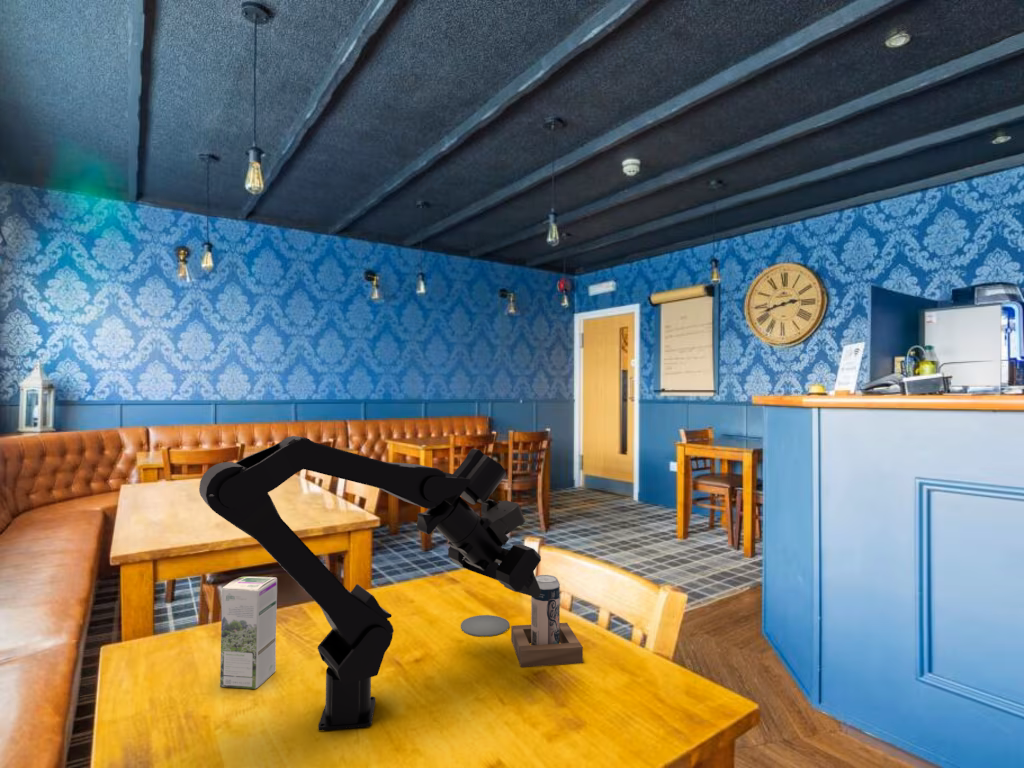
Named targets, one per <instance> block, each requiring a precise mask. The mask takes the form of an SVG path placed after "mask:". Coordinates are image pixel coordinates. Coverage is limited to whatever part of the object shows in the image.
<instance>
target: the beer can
mask: <svg viewBox="0 0 1024 768" xmlns="http://www.w3.org/2000/svg"><path fill="white" fill-rule="evenodd" d="M535 578H536V580H537V583H538V585H539V587H540V590H541V594H540V596H539V597H538V598H536V597H533V596H530V597H531V598H530V599H531V600H530V602H531V603H530V604H531V606H530V607H531V611H530V612H531V613H530V616H531V617H530V618H531V619H530V620H531V621H530V622H531V624H530V625H531V643H530V645H545V644H561V643H560V623H561V621H560V620H561V619H560V610H561V609H560V606H561V605H560V603H561V602H560V601H561V600H560V599H561V598H560V597H561V595H560V593H561V591H560V590H561V587H560V586H561V583H560V581H559V580H558V577H556V576H554V575H550V574H539V575H536V576H535Z"/></svg>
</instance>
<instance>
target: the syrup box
mask: <svg viewBox="0 0 1024 768" xmlns="http://www.w3.org/2000/svg"><path fill="white" fill-rule="evenodd" d="M277 603H278V578H277V577H273V576H269V577H268V576H245V575H244V576H241V577H238V578H236V579H233V580H232V581H230V582H229V583H227V584H225V585H224V586H223V587H222V589H221V620H220V621H221V623H220V624H221V626H220V631H221V632H220V633H221V634H220V673H219V674H220V675H219V677H220V678H219V681H220V683H219V687H221V688H233V689H235V688H237V689H251V690H254V689H255V690H256V689H258V688H259V687H260V686H261V685H263V684H264V682H266V681H267V680H268V679H269V678H270V677H271V676H272V675H273V674H274V673H276V670H277V668H276V665H277V663H276V661H277V659H276V657H277V655H276V651H277V650H276V647H277V645H276V643H277V605H278V604H277Z"/></svg>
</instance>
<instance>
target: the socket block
mask: <svg viewBox="0 0 1024 768" xmlns="http://www.w3.org/2000/svg"><path fill="white" fill-rule="evenodd" d="M510 631H511V632H510V633H511V634H510V635H511V636H510V637H511V638H510V641H511V644H512V646H513V650H514V653H515V654H516V657H517V661H518V663H519V665H520V668H527V667H528V668H529V667H542V666H556V665H557V666H559V665H571V664H574V665H575V664H583V663H584V662H583V661H584V658H583V657H584V653H583V651H584V649H583V645H582V644H581V642H580V640H579V639H578V638H577V636H576V634H575V632H574V631H573V630H572V628H571V627H570V625H569V624H568V622H560V644H545V645H531V624H520V625H519V624H518V625H517V624H516V625H511V629H510Z"/></svg>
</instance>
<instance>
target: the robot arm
mask: <svg viewBox="0 0 1024 768" xmlns="http://www.w3.org/2000/svg"><path fill="white" fill-rule="evenodd" d="M303 470H305V471H310V472H313V473H318V474H322V475H325V476H330V477H334V478H338V479H342V480H345V481H350V482H354V483H357V484H362V485H365V486H370V487H373V488H376V489H379V490H381V491H383V492H384V493H385V492H386V493H387V494H389V495H391V496H393V497H395V498H397V499H399V500H402V501H403V502H405V503H406V502H407V503H409V504H412V505H414V506H418V507H421V508H424V509H426V510H425V511H423V512H418V513H417V522H416V530H417V531H419V532H421V533H424V534H426V535H431V534H432V533H433V532H434V530H435V529H436V530H437V531H438V532H440V534H441V535H443V537H445V538H446V540H448V543H447V545H449V547H448V550H447V551H448V552H447V553H448V554H447V556H448V558H449V559H450V560H451V561H452V562H453V563H454V564H456V565H458V566H460V567H461V568H464V569H466V570H468V571H470V572H473V573H477V574H480V575H481V576H485V577H487V578H490V579H492V580H496V581H498V582H499V583H500V584H501V585H503V587H504V588H506V589H508V590H511V591H512V592H515V593H519V594H524V595H527V596H529V597H531V596H533V597H536V598H538V597H539V596H540V594H541V590H540V587H539V585H538V583H537V580H536V578H535V572H534V571H535V570H536V568H537V567H538V565H539V564H540V562H541V561H542V559H541V558H542V557H541V555H540V553H538V551H537V550H536V549H535V548H534V547H529V546H527V545H524V544H522V543H519V544H517V543H516V544H513V545H512V546H511V548H510V549H508V548H505V547H503V546H505V545H506V544H507V542H508V541H509V540H510V538H509V537H508V536H507V535H508V534H510V533H511V532H514V530H515V529H517V528H518V527H519V526H522V525H524V524H525V522H526V520H525V517H524V515H523V512H522V510H521V507H520V505H519V503H518V502H514V501H510V500H498V501H497V502H496V501H495V500H494V499H490V497H491V495H492V494H493V493H494V492H495V490H496V488H497V487H498V486H499V485H500V483H501V482H502V480H504V478H505V477H506V475H507V471H506V470H505V468H504V466H503V465H502V464H500V462H498V461H495V460H494V459H493V458H492V457H490V456H488V455H487V454H485V453H483V451H482V450H481V449H477V448H471V450H469V452H468V453H467V455H466V457H465V459H464V460H463V461H462V462H461V464H460V465H459V466H458V467H457V468H456V470H455V471H453V473H449V472H445V471H443V470H441V469H439V468H437V467H432V466H426V465H421V464H417V463H415V464H414V463H405V462H404V463H403V462H388V461H382V460H379V459H375V458H372V457H367V456H365V455H361V454H358V453H353V452H350V451H347V450H343V449H339V448H336V447H333V446H329V445H326V444H323V443H318V442H315V441H313V440H311V439H310V438H308V437H303V436H297V435H292V436H287V437H285V438H283V440H281V441H280V442H278V443H275V444H274V445H272V446H270V447H267V448H264V449H262V450H259V451H257V452H255V453H252V454H250V455H248V456H246V457H243V458H242V459H240V460H238V461H236V462H231V461H230V462H226V461H224V462H220V463H216V464H214V465H213V466H211V467H209V468H208V469H207V470H206V471H205V472H204V473H203V475H202V477H201V478H200V481H199V487H198V489H199V490H198V492H199V494H200V496H201V498H202V500H203V501H204V503H205V504H206V505H207V506H208V507H209V508H210V509H211V510H212V511H213V512H214V513H215V514H217V515H218V516H220V517H222V519H224V520H225V521H226V522H228V523H230V524H232V525H233V527H236V528H237V529H239V530H240V531H242V532H243V533H245V534H247V535H248V536H250V537H251V538H253V539H254V540H255V541H256V542H257V543H258V544H259V545H260V546H261V547H262V548H263V549H264V550H265V551H266V552H267V553H268V554H269V555H270V556H271V557H272V559H273V560H275V562H277V563H278V564H279V566H281V568H283V570H284V571H286V573H287V574H288V575H289V576H290V577H291V578H292V579H293V580H294V581H295V582H296V584H298V586H300V588H302V589H303V590H304V591H305V593H307V594H308V596H309V597H310V598H311V599H312V600H313V601H315V604H317V605H318V606H319V607H320V610H321V611H322V612H323V613H322V614H323V615H324V617H325V619H326V621H327V622H328V624H329V625H330V628H331V630H330V631H329V632H328V634H327V635H326V636H325V637H324V638H323V639H322V641H321V642H320V643H319V644H318V646H317V651H318V654H319V656H320V659H321V661H323V662H324V663H325V664H326V666H327V667H326V670H325V705H324V708H323V710H322V714H321V717H320V719H319V722H318V726H317V727H318V728H317V729H318V730H319V731H331V730H334V731H335V730H343V729H344V730H345V729H354V728H356V729H357V728H367V727H368V728H369V727H370V726H372V723H373V717H374V712H375V705H376V697H375V696H371V695H372V694H371V691H372V689H371V688H372V678H373V677H377V676H378V675H379V671H380V669H381V666H382V663H383V659H384V657H385V653H386V652H387V650H388V649H389V647H390V646H391V644H392V641H393V635H394V632H395V630H394V626H393V625H392V623H391V620H389V619H390V618H391V617H392V614H391V613H390V612H388V611H387V610H386V609H385V608H383V607H382V606H381V605H380V604H379V602H378V600H377V599H376V597H375V596H374V595H373V594H372V593H371V592H369V591H368V590H366V588H364V587H362V586H361V585H360V584H358V583H357V584H355V586H354V587H353V589H352V590H351V591H350V590H348V589H347V588H346V587H345V586H344V584H342V582H340V580H339V579H338V578H337V577H336V576H335V575H334V574H333V573H332V572H331V571H330V570H329V568H328V567H326V565H325V564H324V563H323V562H322V561H321V560H320V559H319V558H318V556H316V554H315V553H314V552H313V551H312V550H311V549H310V548H309V547H308V545H306V543H304V541H303V540H302V539H301V538H300V536H298V535H297V533H296V532H294V530H293V529H291V527H290V526H289V525H288V524H287V523H286V522H285V521H284V520H283V519H282V517H281V515H280V514H279V511H278V510H277V508H276V506H275V503H274V502H273V499H272V497H271V496H270V494H269V493H270V492H272V491H274V490H275V489H277V488H278V487H279V486H281V485H282V484H283V483H285V482H286V481H288V480H289V479H291V478H292V477H293V476H294V475H296V474H297V473H299V472H301V471H303ZM468 503H469V504H471V505H476V504H477V503H480V505H481V511H480V514H481V516H480V515H478V514H477V513H476V511H474V509H473V508H472V507H471V506H470V505H469V504H468Z"/></svg>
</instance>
